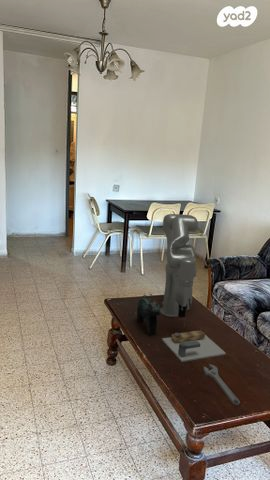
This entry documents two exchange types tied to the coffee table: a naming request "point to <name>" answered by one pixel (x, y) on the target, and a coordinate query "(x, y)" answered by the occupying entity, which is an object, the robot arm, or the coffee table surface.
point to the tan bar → (188, 336)
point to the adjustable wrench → (221, 383)
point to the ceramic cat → (148, 314)
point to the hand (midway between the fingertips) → (181, 316)
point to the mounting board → (194, 349)
